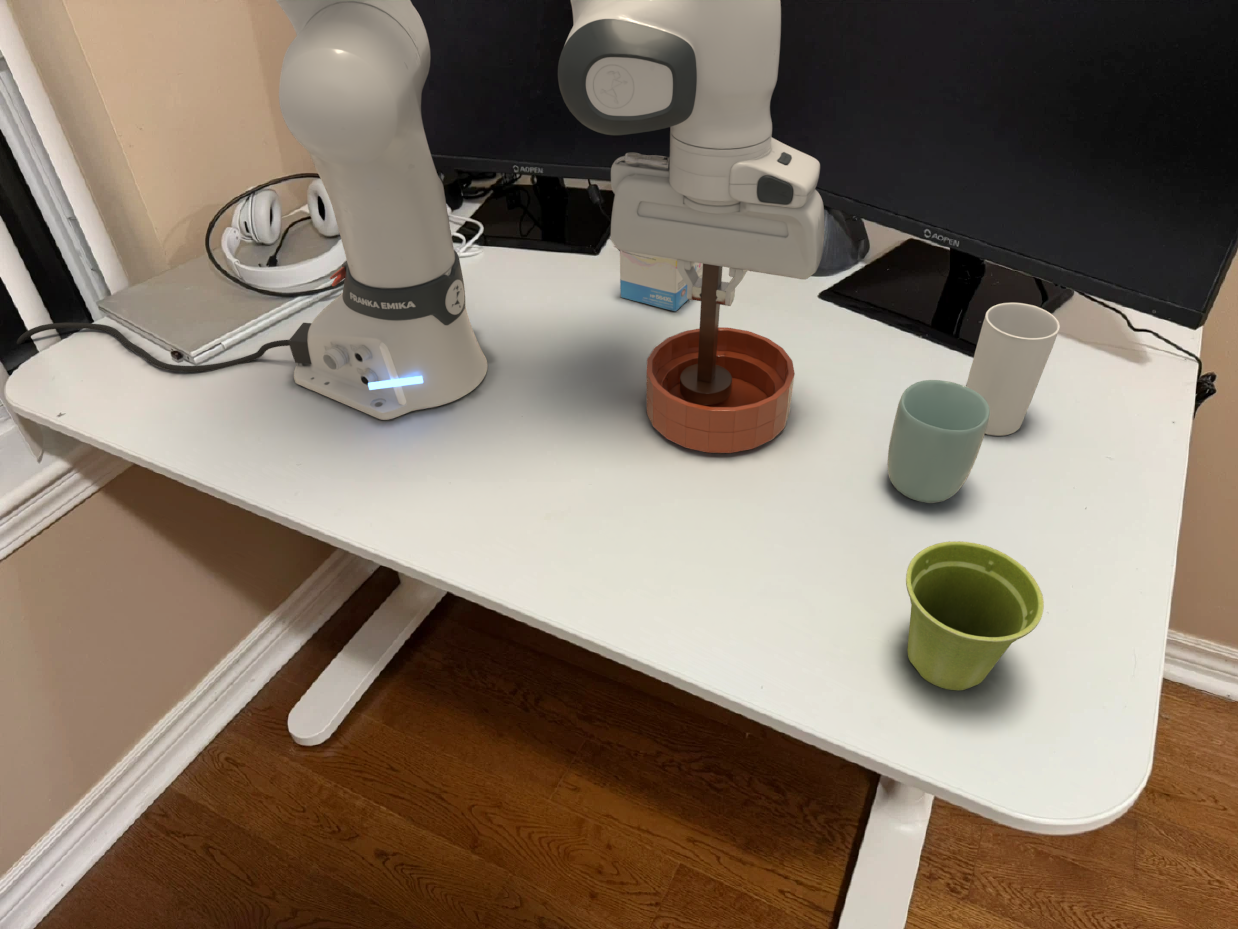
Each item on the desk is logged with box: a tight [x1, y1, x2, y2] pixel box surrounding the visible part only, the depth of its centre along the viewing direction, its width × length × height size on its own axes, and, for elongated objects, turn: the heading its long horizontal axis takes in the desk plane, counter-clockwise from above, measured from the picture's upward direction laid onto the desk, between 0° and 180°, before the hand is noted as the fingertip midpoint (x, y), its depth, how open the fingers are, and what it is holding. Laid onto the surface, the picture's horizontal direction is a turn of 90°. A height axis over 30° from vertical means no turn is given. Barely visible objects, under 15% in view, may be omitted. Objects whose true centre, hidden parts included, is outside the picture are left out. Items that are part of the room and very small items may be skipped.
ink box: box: [619, 250, 703, 312], centre depth 107 cm, size 9×8×13 cm
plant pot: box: [905, 540, 1045, 691], centre depth 64 cm, size 9×9×9 cm
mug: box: [965, 302, 1061, 437], centre depth 87 cm, size 10×7×12 cm, turn 145°
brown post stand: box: [680, 264, 732, 405], centre depth 86 cm, size 6×6×18 cm
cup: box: [886, 379, 990, 504], centre depth 79 cm, size 8×8×10 cm
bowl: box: [645, 326, 796, 454], centre depth 90 cm, size 15×15×6 cm
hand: (710, 300), depth 84 cm, fingers closed on brown post stand
